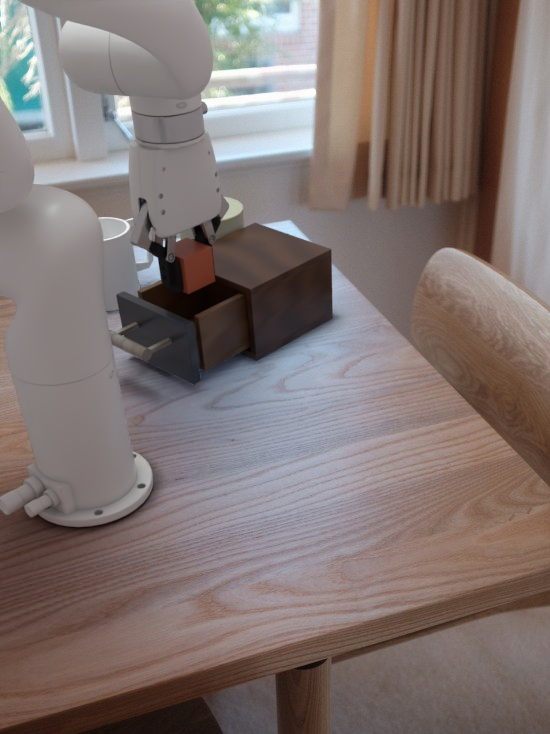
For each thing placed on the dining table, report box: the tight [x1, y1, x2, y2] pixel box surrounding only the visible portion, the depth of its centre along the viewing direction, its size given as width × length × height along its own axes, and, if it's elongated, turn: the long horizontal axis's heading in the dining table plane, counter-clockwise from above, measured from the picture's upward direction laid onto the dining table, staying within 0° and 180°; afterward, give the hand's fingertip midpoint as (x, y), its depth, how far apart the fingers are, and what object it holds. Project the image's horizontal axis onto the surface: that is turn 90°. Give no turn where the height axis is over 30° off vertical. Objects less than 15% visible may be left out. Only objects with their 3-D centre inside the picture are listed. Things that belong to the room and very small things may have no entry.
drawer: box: [109, 279, 251, 386], centre depth 112 cm, size 18×13×8 cm
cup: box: [98, 216, 154, 312], centre depth 126 cm, size 8×12×10 cm
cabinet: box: [212, 222, 334, 362], centre depth 119 cm, size 15×14×10 cm
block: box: [175, 237, 215, 294], centre depth 108 cm, size 4×4×4 cm
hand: (189, 279), depth 109 cm, fingers closed on block, 4 cm apart
